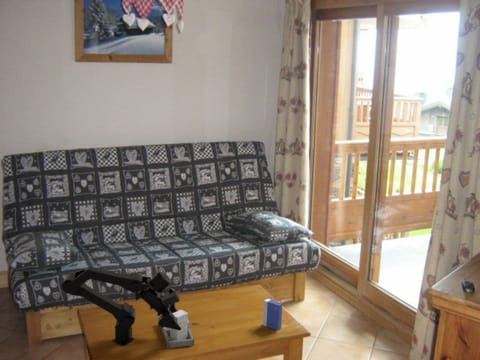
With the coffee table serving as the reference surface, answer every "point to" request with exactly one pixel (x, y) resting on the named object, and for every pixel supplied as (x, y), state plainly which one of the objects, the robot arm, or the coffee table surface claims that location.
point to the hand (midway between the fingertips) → (180, 324)
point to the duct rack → (179, 342)
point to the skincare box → (182, 321)
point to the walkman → (272, 314)
